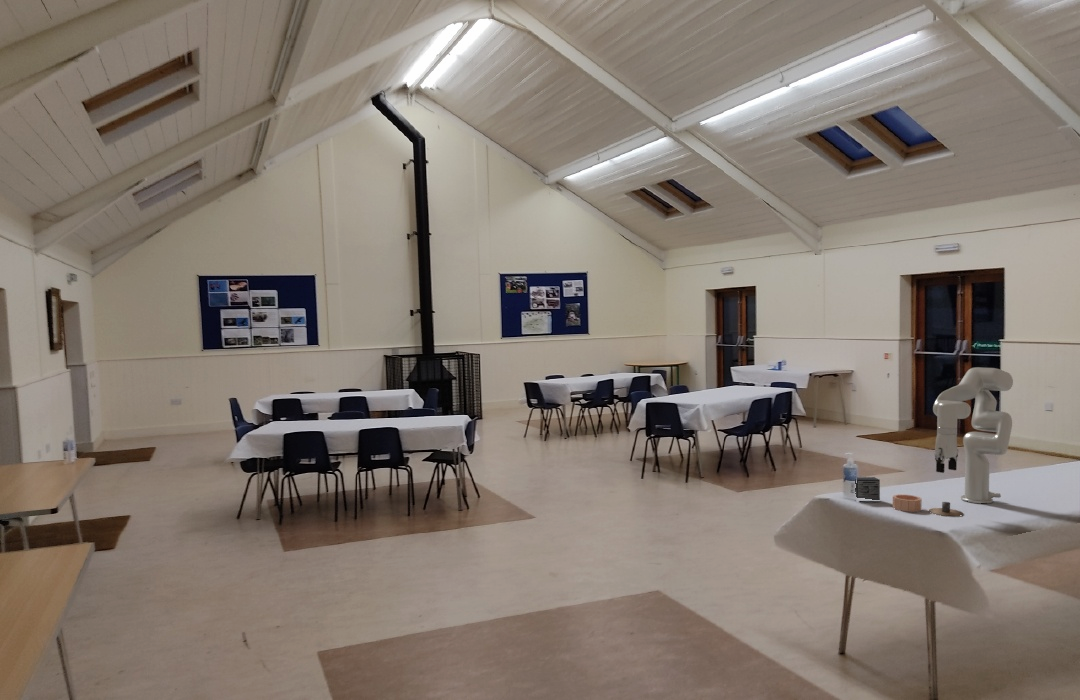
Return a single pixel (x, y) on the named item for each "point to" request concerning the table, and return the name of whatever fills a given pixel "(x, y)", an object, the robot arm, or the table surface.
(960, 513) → the lid
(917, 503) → the bowl
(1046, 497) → the table surface
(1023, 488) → the table surface
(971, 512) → the table surface
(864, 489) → the small box
